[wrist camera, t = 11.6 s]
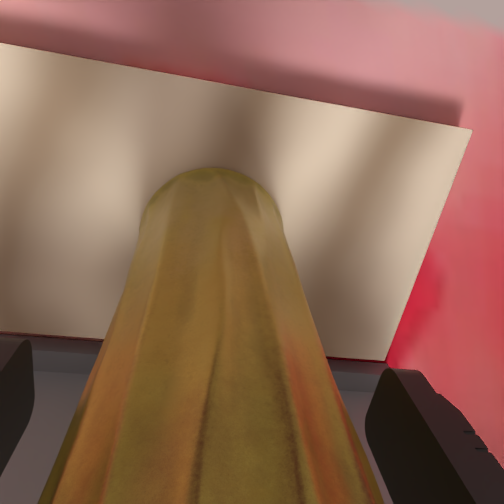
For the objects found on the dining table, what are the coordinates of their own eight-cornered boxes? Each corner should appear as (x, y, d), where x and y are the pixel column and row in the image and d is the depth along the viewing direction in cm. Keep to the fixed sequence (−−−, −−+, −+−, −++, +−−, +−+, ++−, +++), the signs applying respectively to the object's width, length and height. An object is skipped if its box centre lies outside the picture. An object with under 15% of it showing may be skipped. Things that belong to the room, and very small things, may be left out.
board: (458, 126, 17) (472, 130, 16) (377, 348, 22) (384, 360, 21) (-48, 33, 14) (-66, 30, 13) (-14, 316, 19) (-26, 329, 18)
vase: (114, 255, 17) (-195, 843, 4) (190, 134, 15) (72, 492, 2) (231, 318, 19) (275, 852, 6) (310, 217, 17) (618, 668, 4)
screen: (387, 363, 22) (528, 597, 12) (367, 415, 24) (478, 659, 14) (-37, 331, 19) (-310, 620, 9) (-27, 394, 20) (-251, 698, 11)
